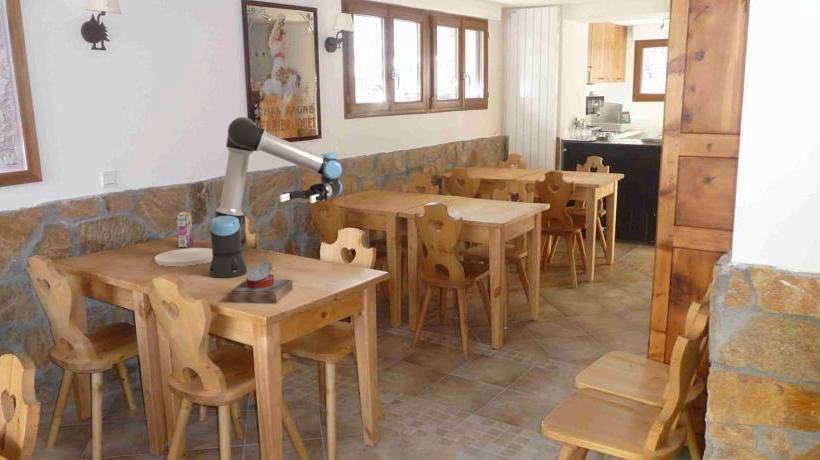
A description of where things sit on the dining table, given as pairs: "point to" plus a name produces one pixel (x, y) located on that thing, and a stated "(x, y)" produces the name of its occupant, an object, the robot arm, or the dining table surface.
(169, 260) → the plate
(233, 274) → the robot arm
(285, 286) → the display podium
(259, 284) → the canned food
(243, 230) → the coffee box
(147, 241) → the dining table surface
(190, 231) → the candy bar box
